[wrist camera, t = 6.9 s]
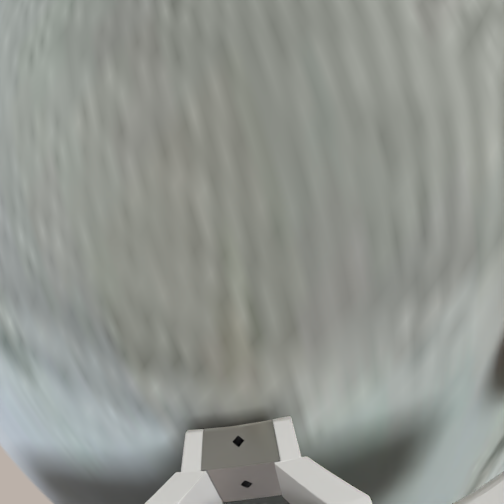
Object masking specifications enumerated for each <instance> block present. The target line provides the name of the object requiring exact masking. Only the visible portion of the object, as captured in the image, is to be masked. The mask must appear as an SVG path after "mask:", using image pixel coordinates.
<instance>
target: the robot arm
mask: <svg viewBox="0 0 504 504" xmlns="http://www.w3.org/2000/svg"><path fill="white" fill-rule="evenodd" d="M273 425H274V426H273ZM278 495H282V497H283V498H285V499H286V500H287V501H288V502H289V503H290V504H372V501H371V499H370V496H368V495H367V494H365V493H363V492H362V491H360V490H358V489H357V488H355V487H353V486H352V485H350V484H348V483H347V482H345V481H344V480H342V479H340V478H339V477H337V476H336V475H334V474H333V473H331V472H330V471H328V470H327V469H325V468H324V467H322V466H321V465H319V464H318V463H316V462H315V461H313V460H312V459H310V458H309V457H307V456H305V457H301V453H300V449H299V445H298V442H297V438H296V434H295V430H294V426H293V422H292V419H291V417H290V416H287V417H282V418H277V419H273V421H272V420H266V421H261V422H255V423H249V424H242V425H238V426H228V427H218V428H206V429H196V430H187V432H186V434H185V441H184V449H183V457H182V466H181V472H176V473H175V474H174V475H173V476H172V477H171V478H170V479H169V480H168V481H167V482H166V483H165V484H164V485H163V486H162V487H161V488H160V489H159V490H158V491H157V492H156V493H155V494H154V495H153V496H152V497H151V498H150V499H149V500H148V501H147V502H146V503H145V504H223V502H230V501H239V500H247V499H254V498H263V497H271V496H278ZM453 504H504V471H503V472H502V473H501V474H499V475H498V476H496V477H495V478H493V479H492V480H491V481H489V482H488V483H486V484H484V485H483V486H481V487H480V488H478V489H477V490H475V491H473V492H472V493H470V494H468V495H467V496H465V497H463V498H462V499H460V500H458V501H456V502H455V503H453Z"/></svg>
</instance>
